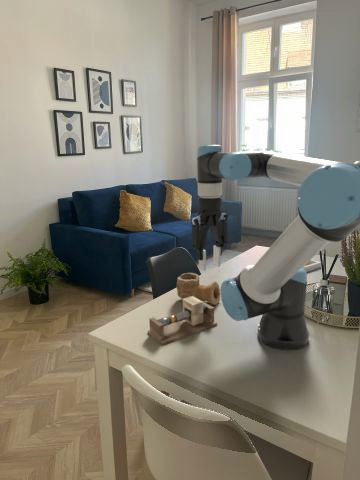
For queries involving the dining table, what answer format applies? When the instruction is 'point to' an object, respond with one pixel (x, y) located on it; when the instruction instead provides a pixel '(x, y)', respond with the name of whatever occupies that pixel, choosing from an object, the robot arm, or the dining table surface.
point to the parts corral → (312, 265)
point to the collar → (193, 310)
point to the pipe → (197, 289)
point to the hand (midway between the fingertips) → (209, 267)
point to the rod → (178, 317)
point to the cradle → (180, 327)
